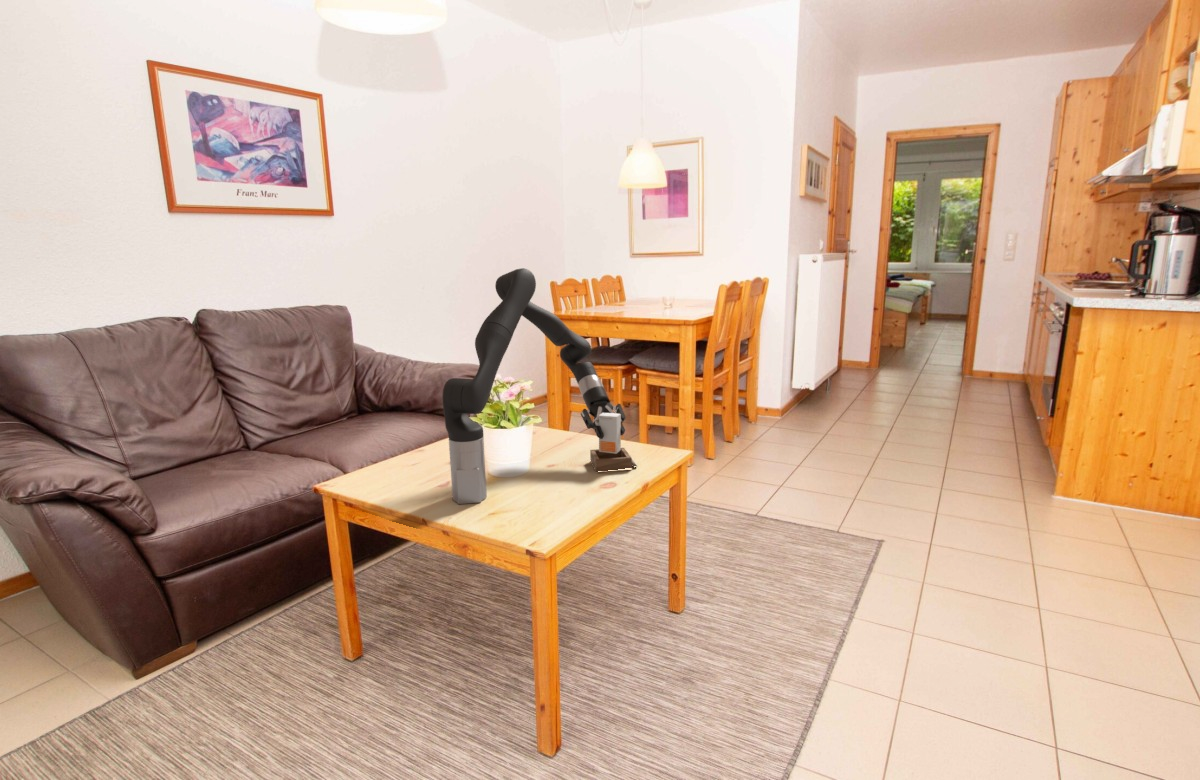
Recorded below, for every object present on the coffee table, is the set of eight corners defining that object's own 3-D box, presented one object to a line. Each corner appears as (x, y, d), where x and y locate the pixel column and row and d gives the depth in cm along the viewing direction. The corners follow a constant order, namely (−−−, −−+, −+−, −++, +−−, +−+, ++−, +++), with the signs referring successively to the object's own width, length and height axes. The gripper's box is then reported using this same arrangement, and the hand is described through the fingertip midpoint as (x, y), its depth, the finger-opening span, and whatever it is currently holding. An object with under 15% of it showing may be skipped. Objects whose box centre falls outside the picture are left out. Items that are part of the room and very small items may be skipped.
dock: (638, 469, 194) (638, 457, 193) (596, 472, 192) (596, 460, 191) (630, 458, 204) (630, 447, 204) (590, 461, 202) (590, 449, 201)
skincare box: (598, 452, 196) (598, 415, 194) (603, 448, 200) (602, 412, 198) (617, 454, 194) (616, 416, 192) (621, 450, 198) (621, 413, 195)
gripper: (577, 388, 196) (596, 433, 188) (616, 382, 203) (636, 426, 195) (569, 401, 201) (588, 445, 194) (608, 395, 208) (627, 438, 201)
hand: (612, 435), depth 195 cm, fingers closed on skincare box, 7 cm apart
